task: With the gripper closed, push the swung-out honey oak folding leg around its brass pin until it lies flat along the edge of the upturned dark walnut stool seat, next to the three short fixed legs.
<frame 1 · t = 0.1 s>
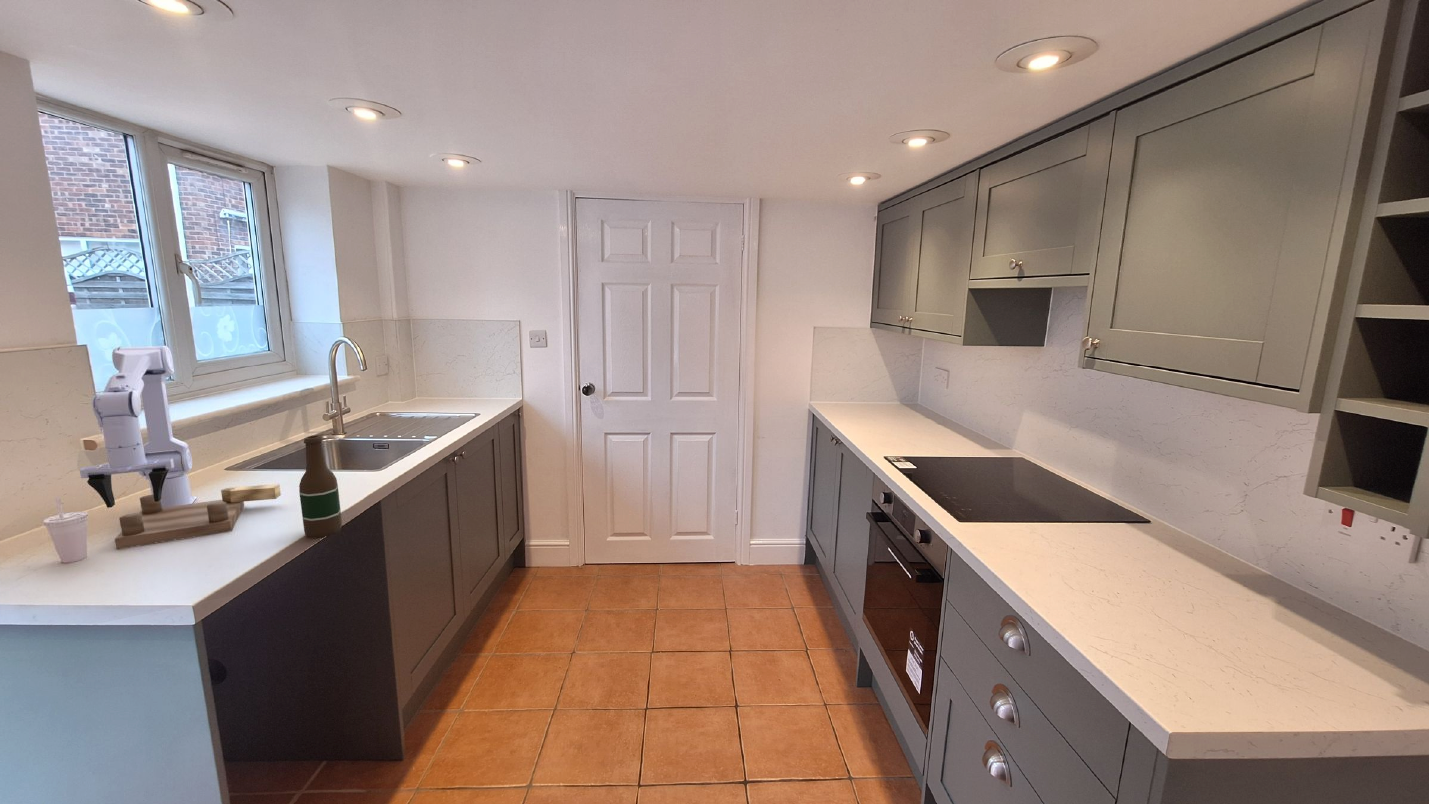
hand: (135, 503, 127), 10 cm above the countertop, tool pointing down, fingers open, 7 cm apart
stool seat: (186, 525, 140), on the countertop
beer bottle: (324, 532, 137), on the countertop
smoothie: (74, 559, 121), on the countertop
oak leg: (250, 493, 151), point 4 cm above the countertop, hinge at 75.0°
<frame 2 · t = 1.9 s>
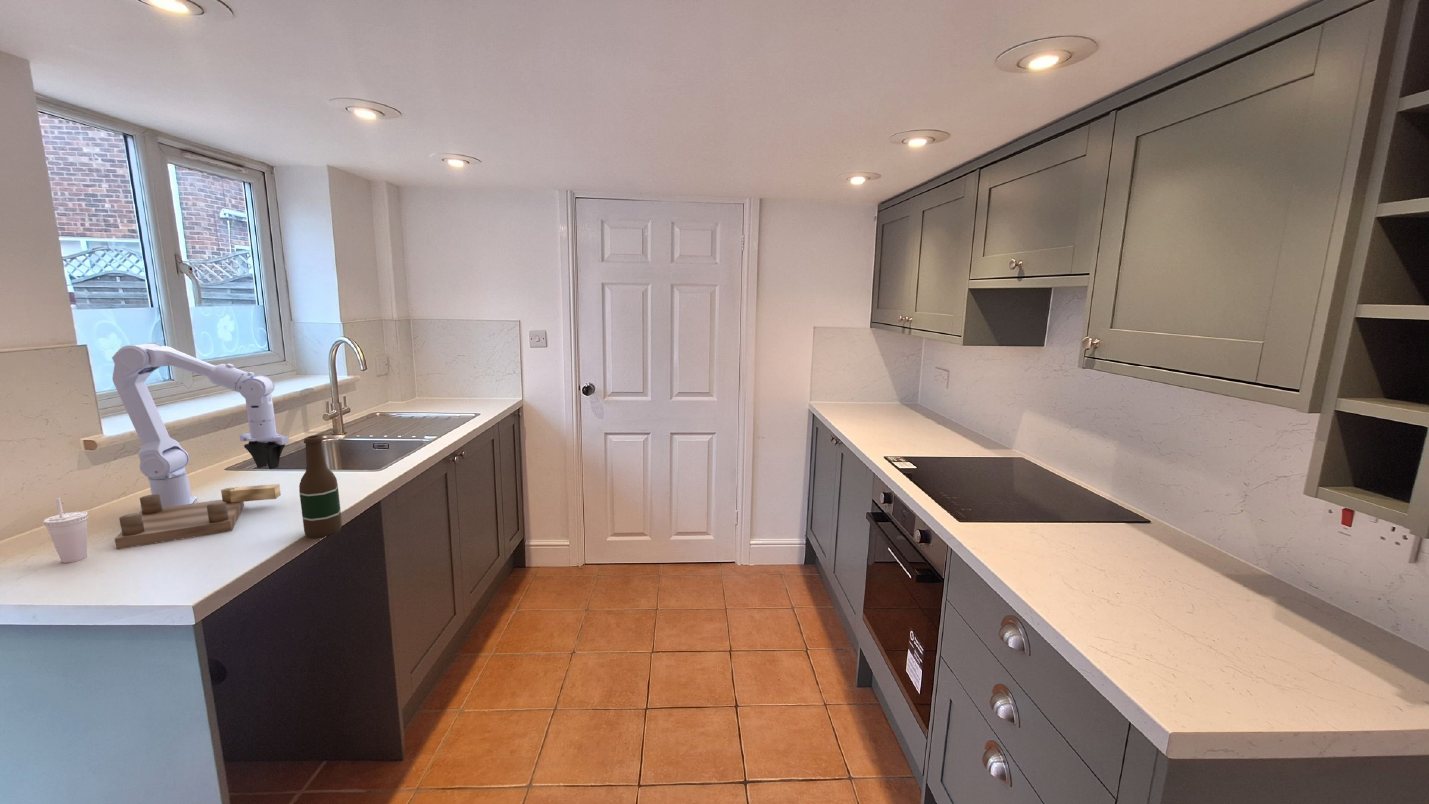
hand: (268, 467, 157), 9 cm above the countertop, tool pointing down, fingers open, 3 cm apart
nothing on the countertop moved.
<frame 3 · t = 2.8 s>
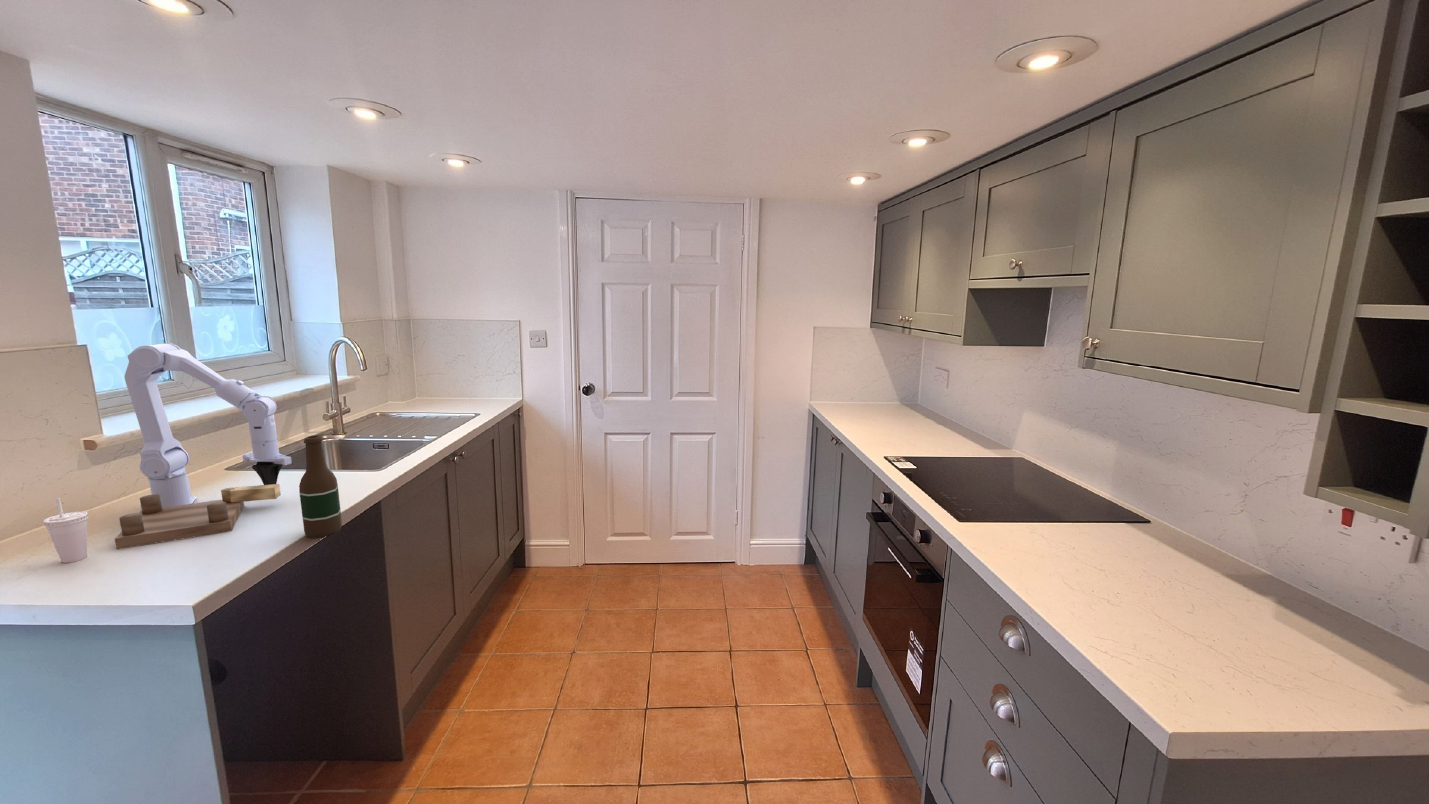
hand: (270, 487, 158), 4 cm above the countertop, tool pointing down, fingers closed
nothing on the countertop moved.
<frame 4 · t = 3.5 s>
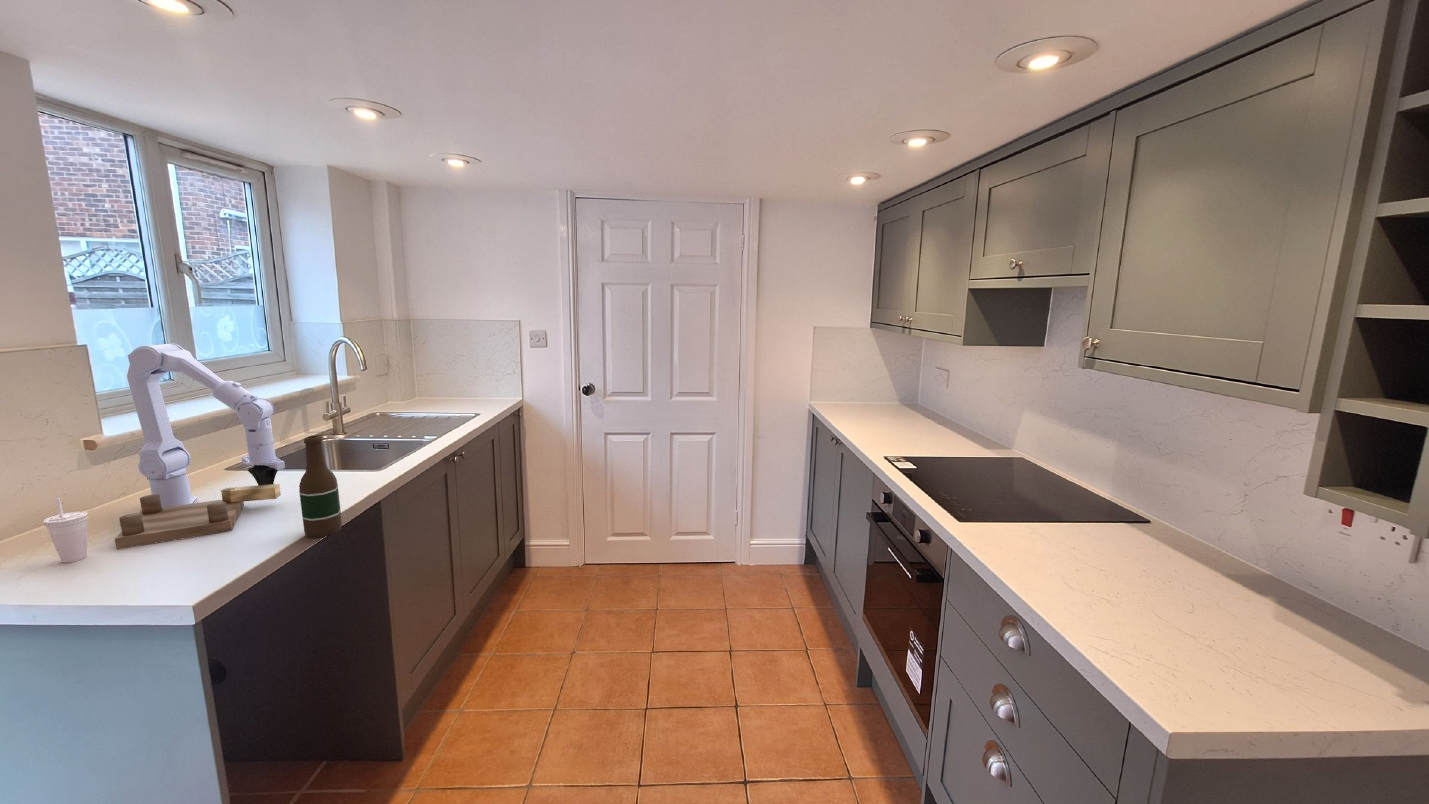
hand: (267, 491, 155), 3 cm above the countertop, tool pointing down, fingers closed
oak leg: (250, 493, 151), point 4 cm above the countertop, hinge at 75.0°, touching gripper
everything else where it was.
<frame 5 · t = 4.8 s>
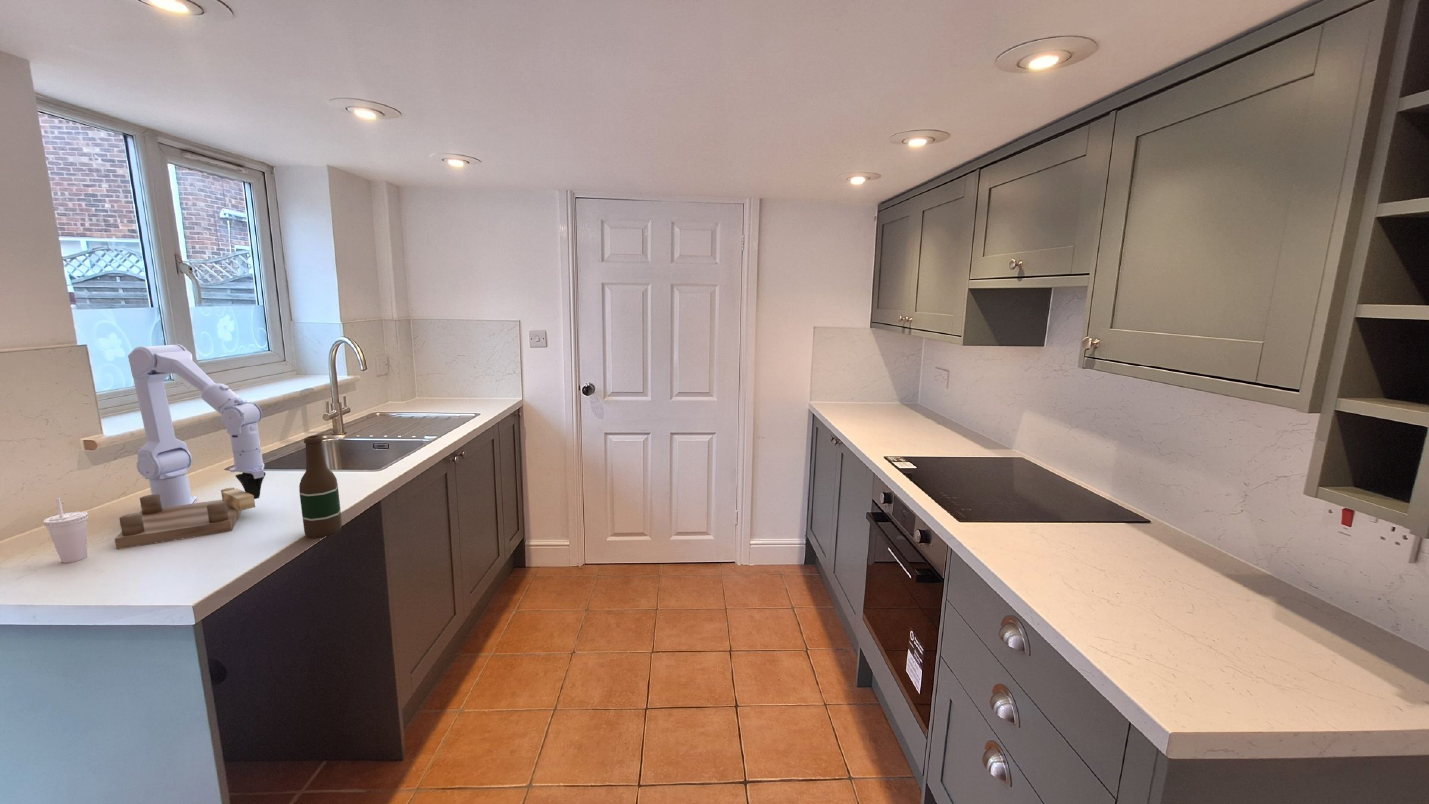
hand: (254, 498, 149), 4 cm above the countertop, tool pointing down, fingers closed, pressing on oak leg
oak leg: (236, 498, 147), point 4 cm above the countertop, hinge at 26.6°, touching gripper
everything else where it was.
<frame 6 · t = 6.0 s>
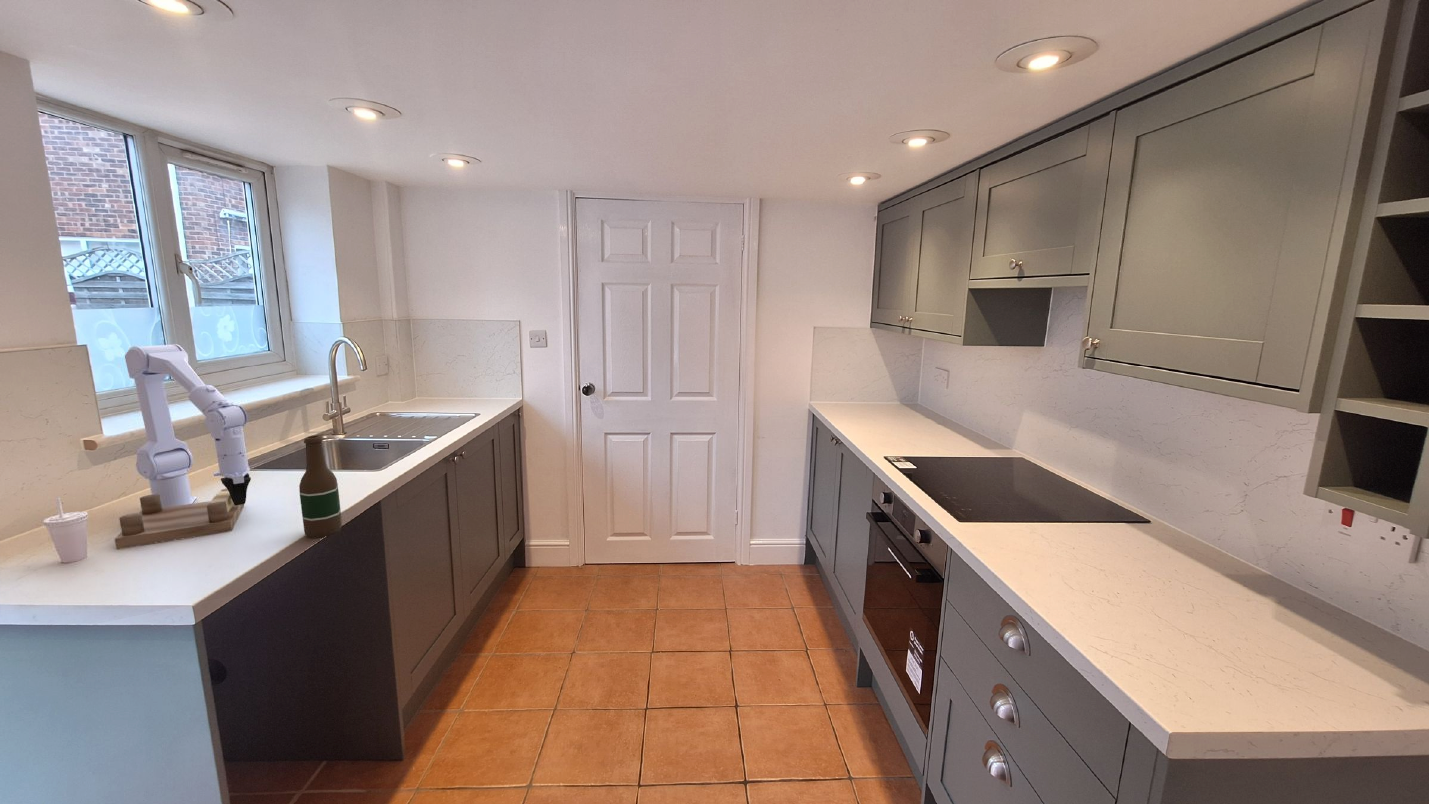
hand: (239, 503, 145), 3 cm above the countertop, tool pointing down, fingers closed
oak leg: (224, 500, 145), point 4 cm above the countertop, hinge at -2.9°, touching gripper
everything else where it was.
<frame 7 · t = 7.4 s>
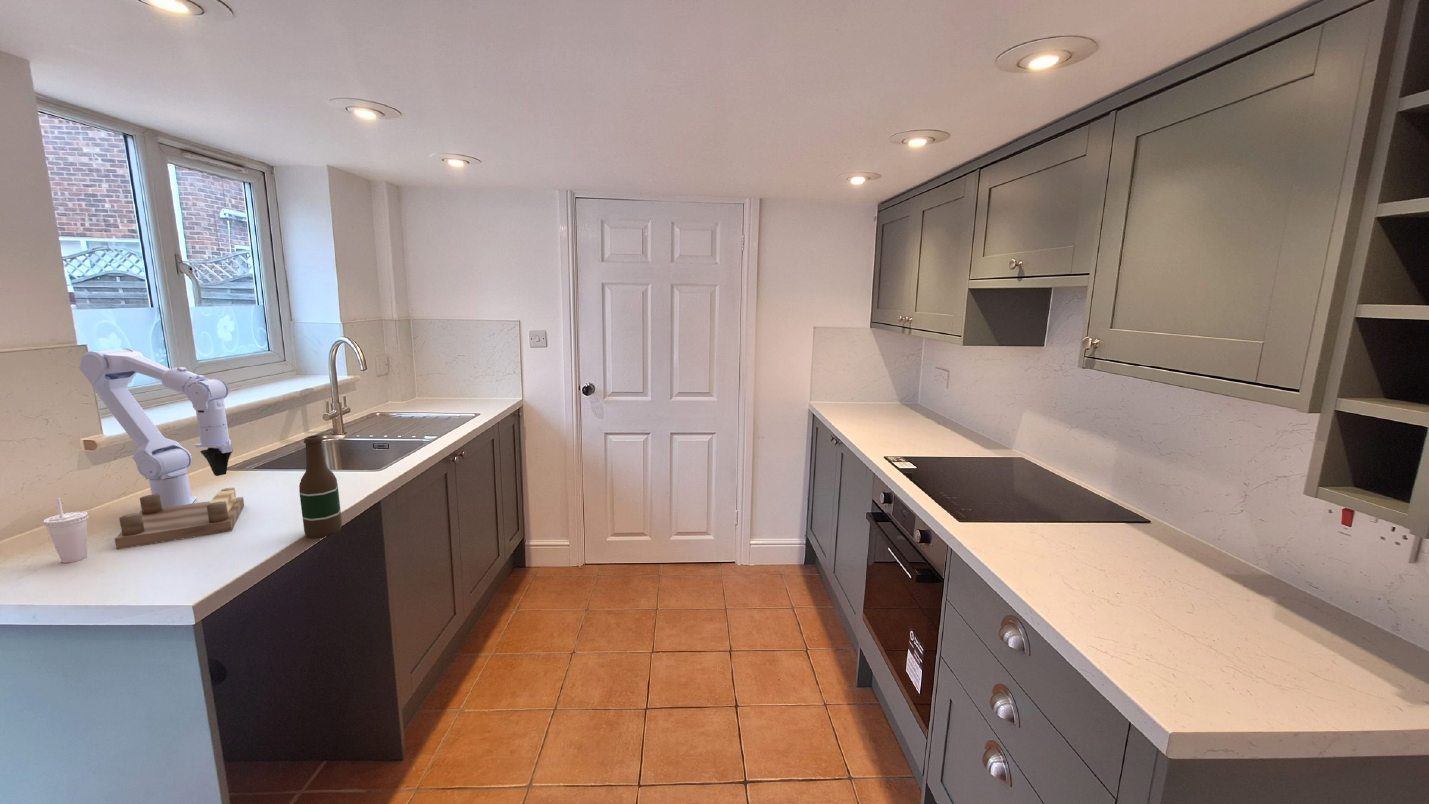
hand: (220, 474, 150), 9 cm above the countertop, tool pointing down, fingers closed
oak leg: (224, 500, 145), point 4 cm above the countertop, hinge at -3.0°
everything else where it was.
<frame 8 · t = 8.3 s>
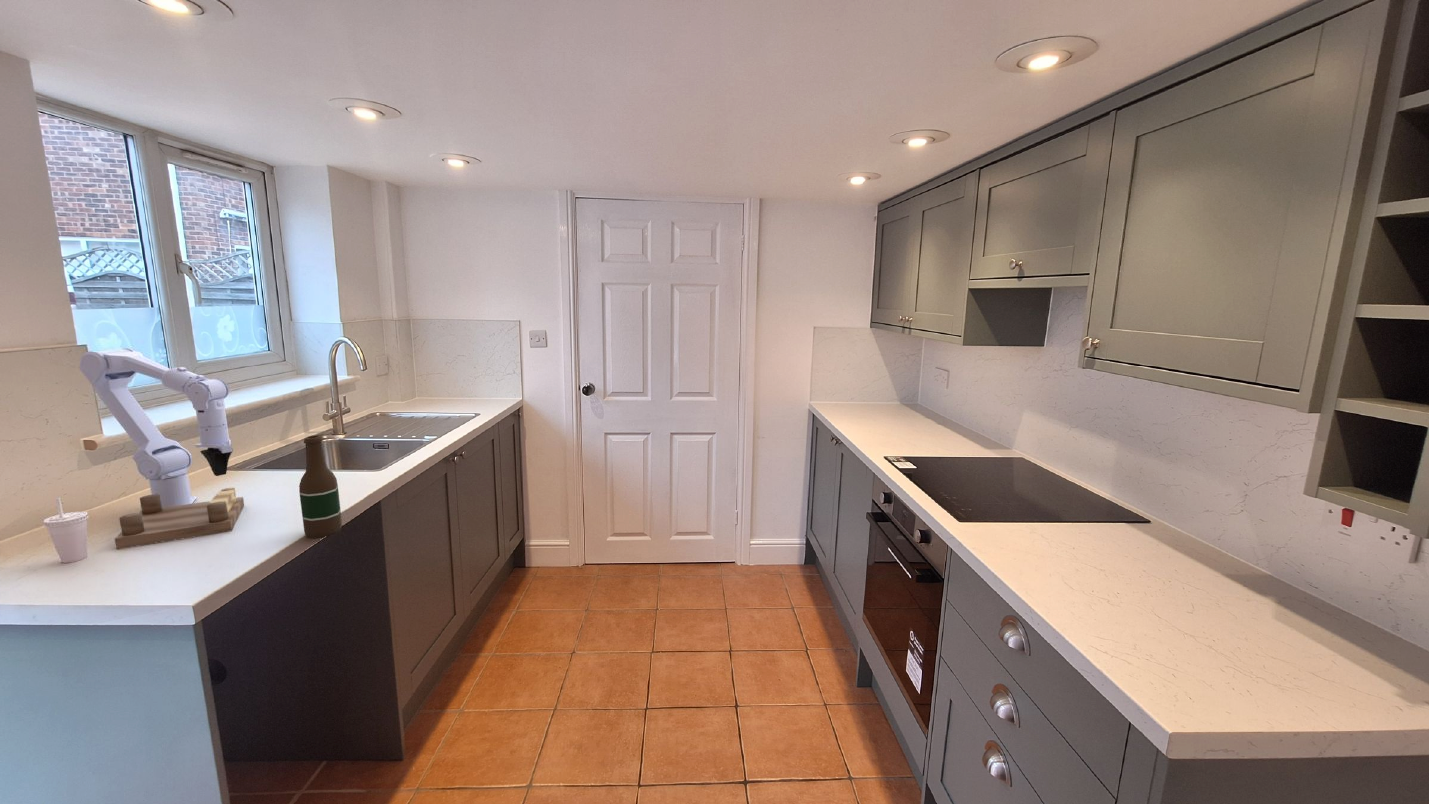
hand: (220, 474, 150), 9 cm above the countertop, tool pointing down, fingers closed
nothing on the countertop moved.
at the end: oak leg at -3° (first picture: +75°); smoothie moved 0.2 cm from its start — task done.
